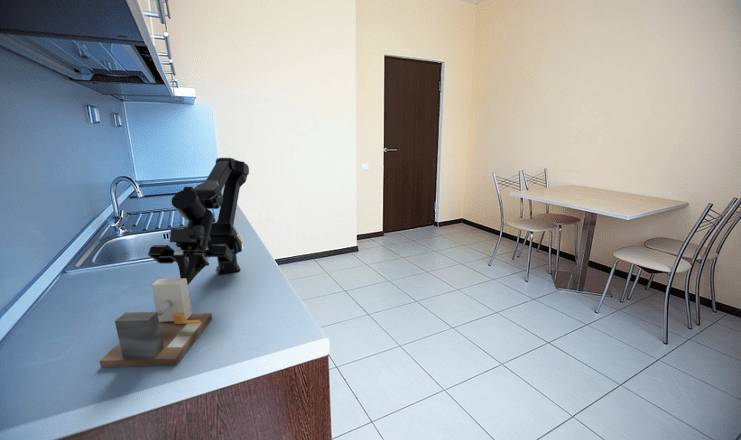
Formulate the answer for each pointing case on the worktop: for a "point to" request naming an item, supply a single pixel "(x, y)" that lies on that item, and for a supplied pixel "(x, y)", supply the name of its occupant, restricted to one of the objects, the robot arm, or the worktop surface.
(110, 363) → the board
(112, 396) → the worktop surface
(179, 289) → the cream eraser-shaped block
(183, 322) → the drag pointer
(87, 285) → the worktop surface
